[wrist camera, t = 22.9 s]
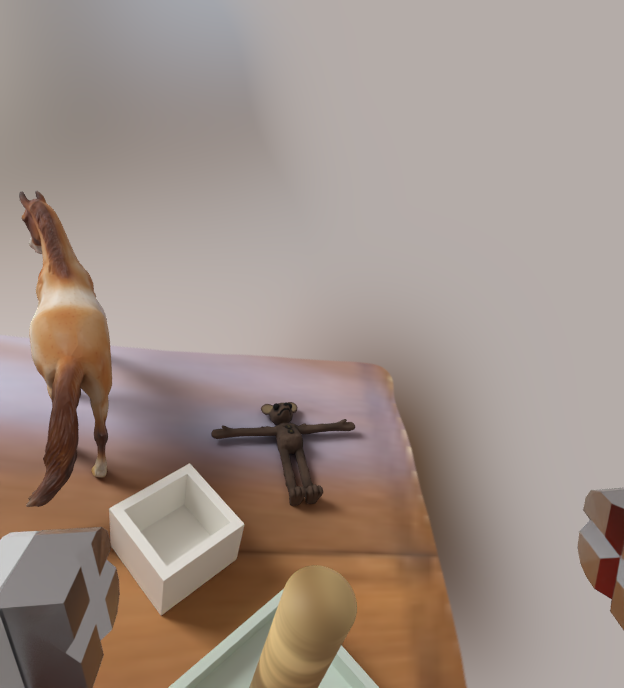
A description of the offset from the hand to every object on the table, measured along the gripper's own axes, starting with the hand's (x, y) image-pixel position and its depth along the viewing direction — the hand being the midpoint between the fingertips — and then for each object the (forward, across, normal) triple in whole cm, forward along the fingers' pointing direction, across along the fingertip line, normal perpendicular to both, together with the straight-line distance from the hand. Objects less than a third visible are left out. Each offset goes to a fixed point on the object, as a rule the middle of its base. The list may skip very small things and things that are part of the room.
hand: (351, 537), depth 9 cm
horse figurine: (+48, -28, -22) cm, 60 cm away
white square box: (+34, -13, -30) cm, 47 cm away
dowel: (+21, -4, -36) cm, 42 cm away
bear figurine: (+47, -2, -29) cm, 56 cm away
